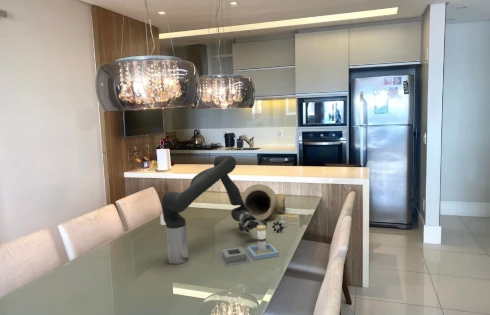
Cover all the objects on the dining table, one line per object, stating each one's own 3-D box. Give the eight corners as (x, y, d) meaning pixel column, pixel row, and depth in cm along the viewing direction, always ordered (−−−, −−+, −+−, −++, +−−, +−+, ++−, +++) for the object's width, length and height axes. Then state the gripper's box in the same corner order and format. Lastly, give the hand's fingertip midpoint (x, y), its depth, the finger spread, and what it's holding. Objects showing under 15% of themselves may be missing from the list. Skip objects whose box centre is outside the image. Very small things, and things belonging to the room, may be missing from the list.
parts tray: (254, 263, 170) (254, 255, 169) (247, 253, 181) (247, 246, 181) (279, 259, 173) (278, 252, 172) (270, 250, 184) (270, 243, 184)
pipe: (285, 222, 256) (287, 220, 227) (243, 223, 258) (240, 221, 228) (283, 188, 261) (285, 182, 232) (242, 190, 263) (239, 184, 234)
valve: (278, 225, 222) (272, 232, 211) (278, 215, 221) (271, 221, 210) (289, 226, 219) (283, 233, 208) (288, 216, 218) (282, 222, 207)
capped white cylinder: (259, 256, 175) (258, 228, 173) (257, 253, 179) (255, 225, 177) (268, 255, 176) (266, 226, 174) (265, 252, 180) (264, 224, 178)
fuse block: (225, 269, 164) (225, 260, 164) (218, 256, 180) (218, 247, 179) (251, 265, 167) (251, 256, 167) (242, 252, 183) (241, 244, 182)
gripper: (234, 215, 198) (242, 224, 182) (260, 212, 201) (269, 220, 186) (235, 228, 199) (243, 238, 183) (260, 225, 202) (270, 234, 187)
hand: (256, 229), depth 184 cm, fingers open, 8 cm apart
